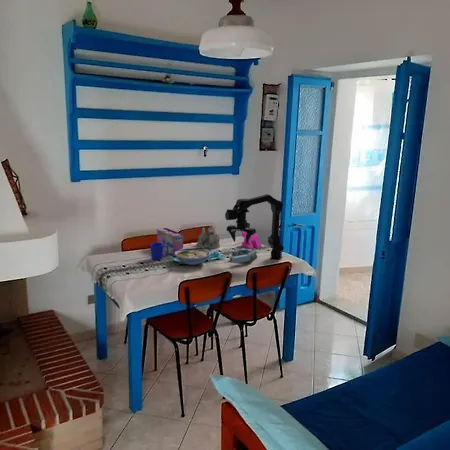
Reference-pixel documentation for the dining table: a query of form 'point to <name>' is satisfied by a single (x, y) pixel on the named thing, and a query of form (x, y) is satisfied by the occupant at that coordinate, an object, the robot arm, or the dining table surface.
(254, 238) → the magenta blocky figure
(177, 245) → the gum box
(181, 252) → the ramen bowl
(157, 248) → the mug
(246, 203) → the robot arm
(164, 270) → the dining table surface
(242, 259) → the folding leg
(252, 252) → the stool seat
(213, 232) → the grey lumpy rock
